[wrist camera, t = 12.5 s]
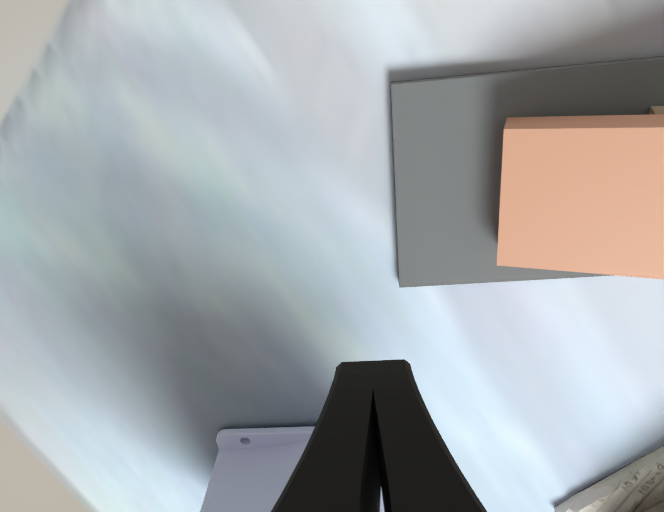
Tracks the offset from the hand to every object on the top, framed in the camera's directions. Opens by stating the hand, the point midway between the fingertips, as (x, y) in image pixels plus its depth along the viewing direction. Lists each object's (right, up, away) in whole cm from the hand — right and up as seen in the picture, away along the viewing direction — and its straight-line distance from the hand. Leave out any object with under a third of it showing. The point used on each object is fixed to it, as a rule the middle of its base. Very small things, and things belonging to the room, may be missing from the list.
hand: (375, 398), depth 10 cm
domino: (+5, +5, +8) cm, 10 cm away
